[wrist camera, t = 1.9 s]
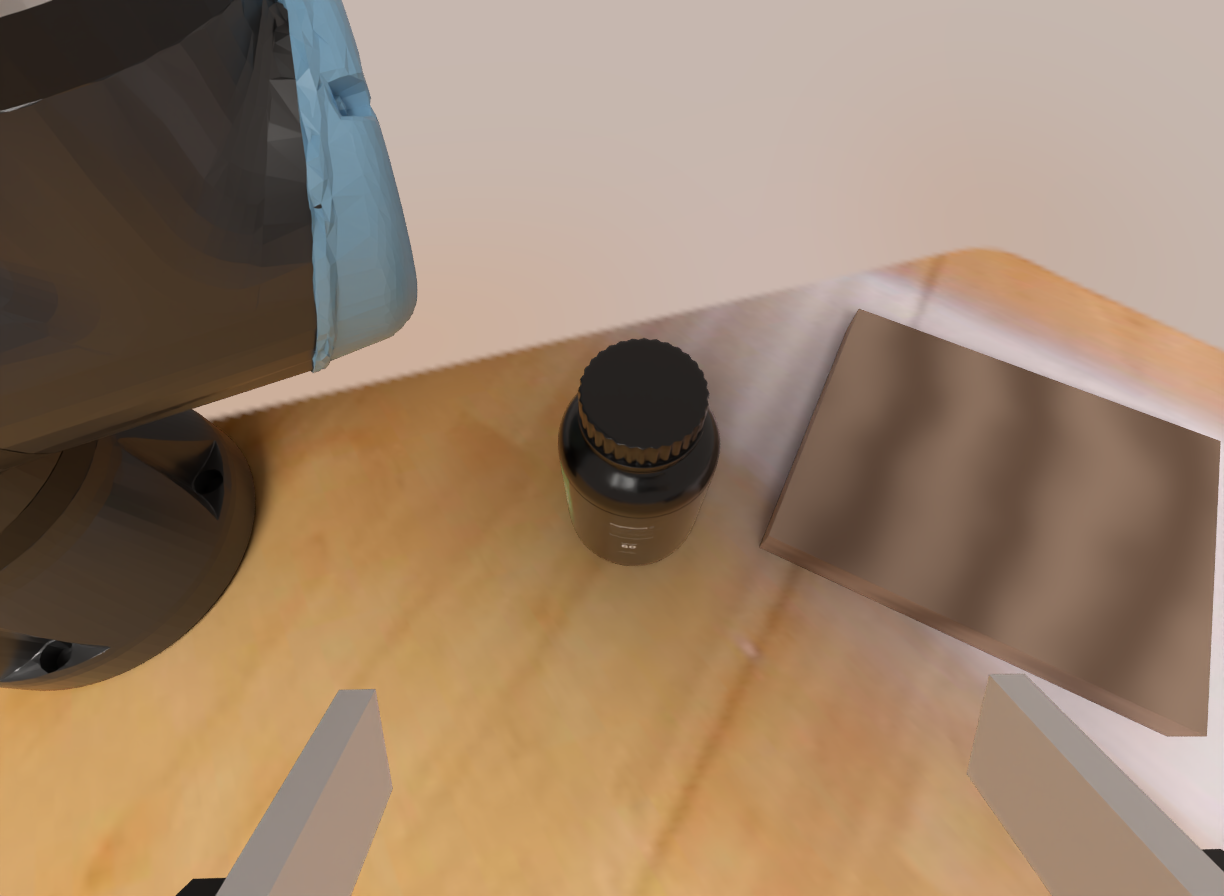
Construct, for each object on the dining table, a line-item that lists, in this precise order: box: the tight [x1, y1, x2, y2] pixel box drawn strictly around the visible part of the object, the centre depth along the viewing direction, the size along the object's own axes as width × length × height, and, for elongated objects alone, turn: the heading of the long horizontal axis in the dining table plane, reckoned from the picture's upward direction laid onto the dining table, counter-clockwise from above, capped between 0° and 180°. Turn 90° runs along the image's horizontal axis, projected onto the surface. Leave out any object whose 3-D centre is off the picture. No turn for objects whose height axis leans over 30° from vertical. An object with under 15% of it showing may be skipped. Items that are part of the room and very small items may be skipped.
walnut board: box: [760, 309, 1220, 736], centre depth 31 cm, size 20×16×2 cm
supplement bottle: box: [558, 338, 720, 566], centre depth 27 cm, size 7×7×12 cm
